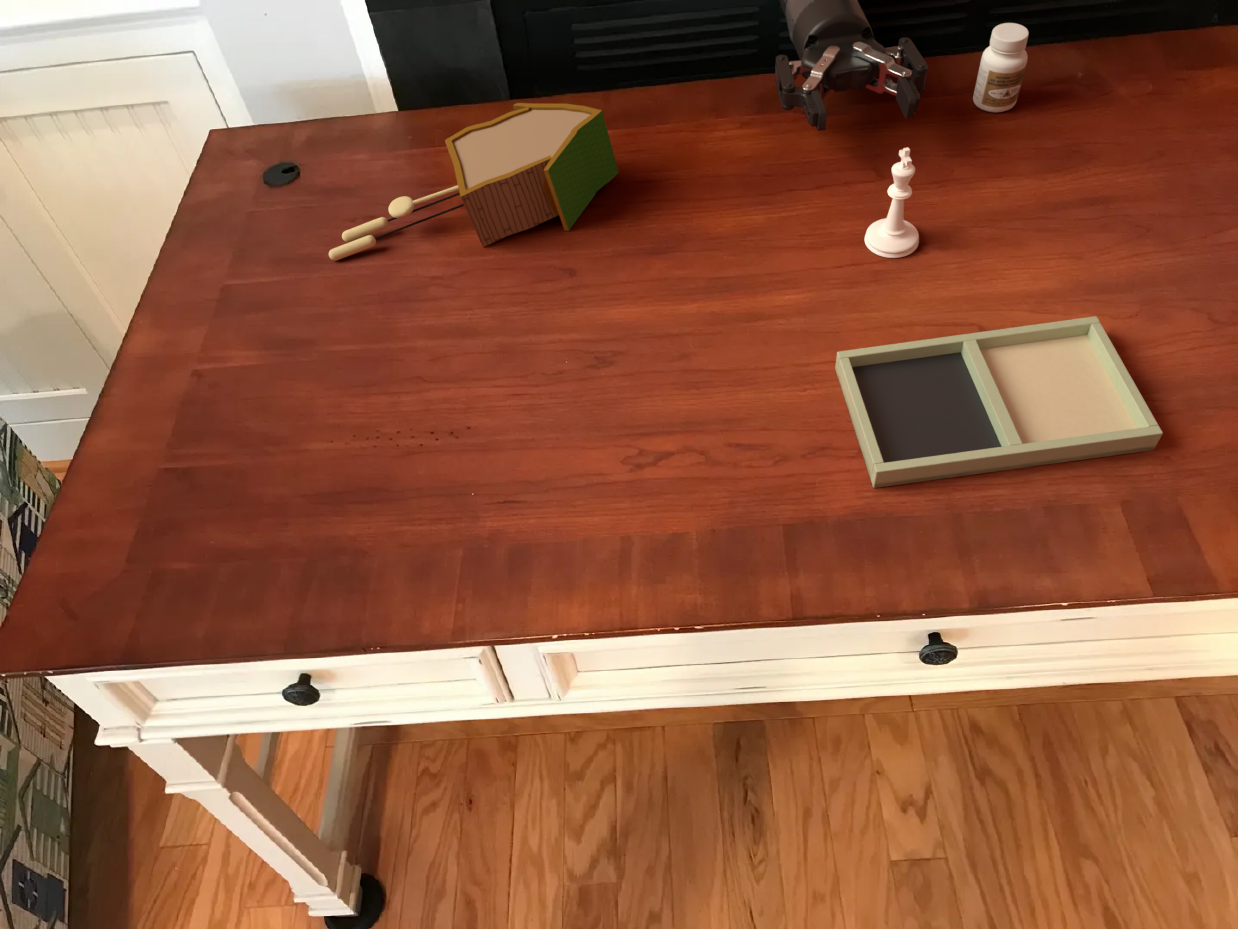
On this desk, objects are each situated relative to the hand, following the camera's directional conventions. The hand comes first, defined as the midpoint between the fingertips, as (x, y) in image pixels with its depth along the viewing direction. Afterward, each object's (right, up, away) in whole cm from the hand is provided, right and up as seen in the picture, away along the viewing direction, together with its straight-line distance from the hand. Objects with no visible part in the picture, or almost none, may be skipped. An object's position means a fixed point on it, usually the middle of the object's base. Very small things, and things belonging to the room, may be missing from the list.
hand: (867, 116), depth 93 cm
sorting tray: (+6, -29, -15) cm, 33 cm away
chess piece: (+2, -12, -2) cm, 13 cm away
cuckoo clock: (-38, -8, +6) cm, 39 cm away
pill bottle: (+16, +5, +10) cm, 19 cm away
